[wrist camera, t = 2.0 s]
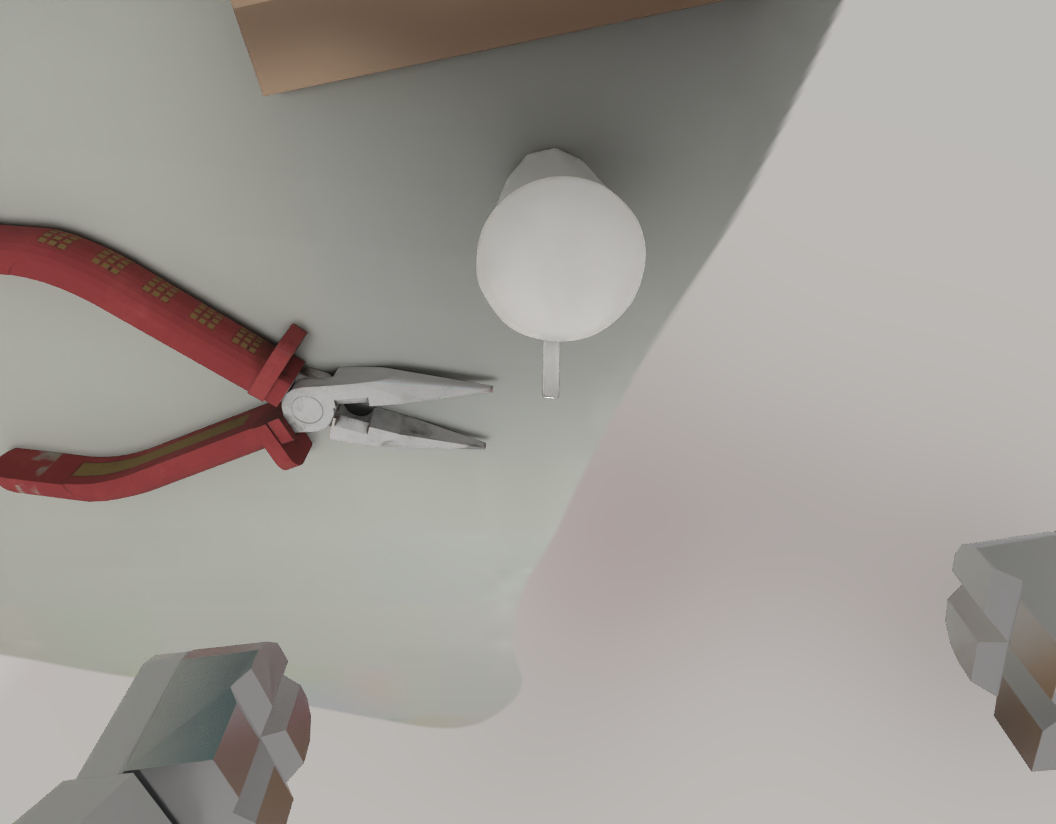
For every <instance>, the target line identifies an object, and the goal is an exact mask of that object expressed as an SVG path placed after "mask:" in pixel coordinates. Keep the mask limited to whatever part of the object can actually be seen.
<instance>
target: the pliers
mask: <svg viewBox="0 0 1056 824" xmlns="http://www.w3.org/2000/svg"><path fill="white" fill-rule="evenodd" d="M0 274H5V275H15V276H21V277H26V278H30V279H34V280H38V281H42V282H45V283H48V284H51V285H53V286H56V287H59V288H61V289H64V290H66V291H68V292H71V293H73V294H75V295H77V296H79V297H81V298H83V299H85V300H87V301H90V302H92V303H93V304H95V305H97V306H99V307H100V308H102V309H104V310H106V311H107V312H109V313H111V314H113V315H114V316H116V317H118V318H120V319H122V320H123V321H125V322H127V323H129V324H130V325H132V326H134V327H136V328H137V329H139V330H141V331H143V332H145V333H146V334H148V335H150V336H152V337H153V338H155V339H157V340H159V341H160V342H162V343H164V344H166V345H167V346H169V347H171V348H173V349H175V350H176V351H178V352H180V353H182V354H183V355H185V356H187V357H189V358H190V359H192V360H194V361H196V362H197V363H199V364H201V365H203V366H205V367H206V368H208V369H210V370H212V371H213V372H215V373H217V374H219V375H220V376H222V377H224V378H226V379H228V380H229V381H231V382H233V383H235V384H236V385H238V386H240V387H242V388H243V389H245V390H247V391H248V394H250V395H252V396H254V397H255V398H257V399H259V400H261V401H264V400H265V401H266V402H268V403H267V404H264V405H262V406H259V407H257V408H254V409H251V410H249V411H246V412H244V413H241V414H238V415H236V416H233V417H231V418H228V419H226V420H223V421H220V422H218V423H215V424H213V425H210V426H207V427H205V428H202V429H200V430H197V431H194V432H192V433H189V434H187V435H184V436H182V437H179V438H176V439H174V440H171V441H169V442H166V443H163V444H161V445H158V446H156V447H153V448H150V449H148V450H144V451H141V452H137V453H133V454H128V455H122V456H115V457H89V456H80V455H72V454H64V453H56V452H47V451H39V450H30V449H21V448H15V449H13V450H10V451H8V452H6V453H5V454H3V455H2V456H1V457H0V486H1V487H3V488H5V489H7V490H9V491H13V492H17V493H25V494H33V495H41V496H49V497H56V498H64V499H72V500H80V501H87V502H92V501H108V500H114V499H120V498H125V497H129V496H134V495H138V494H141V493H145V492H148V491H152V490H154V489H157V488H160V487H162V486H165V485H168V484H170V483H173V482H176V481H178V480H181V479H184V478H186V477H189V476H192V475H194V474H197V473H200V472H202V471H205V470H208V469H210V468H213V467H216V466H218V465H221V464H224V463H226V462H229V461H232V460H234V459H237V458H240V457H242V456H245V455H248V454H250V453H253V452H256V451H258V450H261V449H264V448H265V449H266V450H267V452H268V453H269V454H270V456H271V457H272V459H273V460H274V461H275V463H276V464H277V465H278V466H279V467H280V468H281V469H283V470H288V469H291V468H293V467H296V466H299V465H301V464H303V463H304V461H305V459H306V456H307V454H308V452H309V450H310V448H311V446H312V442H311V441H310V439H309V438H308V436H307V435H306V433H305V432H315V431H320V430H323V429H324V428H326V427H327V426H331V430H330V435H329V438H330V439H334V440H339V441H343V442H349V443H354V444H360V445H367V446H377V447H413V448H453V449H485V448H486V443H484V442H482V441H479V440H476V439H473V438H470V437H467V436H464V435H461V434H459V433H456V432H453V431H450V430H447V429H444V428H441V427H438V426H435V425H433V424H430V423H427V422H424V421H421V420H418V419H415V418H412V417H409V416H407V415H403V414H400V413H396V412H392V411H389V410H385V409H381V408H378V407H375V408H374V410H373V411H372V412H371V413H370V414H368V415H365V416H357V415H354V414H352V413H350V412H349V411H348V410H347V409H346V407H345V405H344V404H347V403H367V402H369V406H381V405H396V404H406V403H414V402H422V401H429V400H437V399H444V398H452V397H460V396H467V395H475V394H483V393H490V392H493V386H490V385H484V384H478V383H473V382H467V381H461V380H455V379H449V378H443V377H437V376H432V375H426V374H420V373H414V372H408V371H402V370H396V369H391V368H383V367H340V368H338V369H337V371H336V372H335V374H334V376H331V375H330V374H328V373H326V372H323V371H320V370H316V369H312V368H309V367H305V366H303V365H304V363H305V361H303V360H301V359H300V358H298V357H296V356H295V355H293V354H294V352H295V351H296V349H297V348H298V346H299V344H300V343H301V341H302V340H303V338H304V337H305V335H306V334H307V332H305V331H304V330H302V329H301V328H299V327H297V326H296V325H294V324H292V325H291V326H290V328H289V329H288V330H287V332H286V333H285V334H284V336H283V337H282V339H281V340H280V341H279V343H278V344H277V346H274V345H273V344H271V343H269V342H268V341H266V340H264V339H263V338H261V337H259V336H258V335H256V334H254V333H253V332H251V331H249V330H247V329H246V328H244V327H242V326H241V325H239V324H237V323H236V322H234V321H232V320H231V319H229V318H227V317H226V316H224V315H222V314H221V313H219V312H217V311H216V310H214V309H212V308H210V307H209V306H207V305H205V304H204V303H202V302H200V301H199V300H197V299H195V298H194V297H192V296H190V295H189V294H187V293H185V292H184V291H182V290H180V289H179V288H177V287H175V286H173V285H172V284H170V283H168V282H167V281H165V280H163V279H162V278H160V277H158V276H157V275H155V274H153V273H152V272H150V271H148V270H147V269H145V268H143V267H141V266H140V265H138V264H136V263H135V262H133V261H131V260H130V259H128V258H126V257H124V256H122V255H120V254H118V253H116V252H114V251H112V250H110V249H108V248H106V247H103V246H101V245H99V244H97V243H95V242H92V241H90V240H87V239H85V238H82V237H80V236H77V235H74V234H71V233H67V232H64V231H60V230H56V229H52V228H39V227H26V226H12V225H0Z"/></svg>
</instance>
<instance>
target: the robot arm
mask: <svg viewBox="0 0 1056 824" xmlns="http://www.w3.org/2000/svg"><path fill="white" fill-rule="evenodd" d="M952 571H953V573H954V574H955V575H956V576H957V578H958V579H959V580H960V582H961V583H962V585H961V586H960V587H959V588H958V589H957V590H956V591H955V592H954V593H953V594H952V595H951V596H950V597H949V598H948V600H947V610H946V619H945V621H946V626H947V631H948V635H949V640H950V644H951V646H952V649H953V651H954V653H955V655H956V658H957V660H958V662H959V664H960V665H961V667H962V668H963V670H964V671H965V673H966V674H967V676H968V677H969V679H970V681H972V682H973V683H975V684H977V685H978V686H980V687H982V688H983V689H985V690H987V691H988V692H990V693H992V694H993V695H995V696H997V698H996V705H995V711H994V716H995V718H996V720H997V721H998V722H999V724H1000V725H1001V727H1002V729H1003V730H1004V731H1005V733H1006V734H1007V736H1008V737H1009V739H1010V740H1011V742H1012V743H1013V745H1014V746H1015V748H1016V749H1017V751H1018V752H1019V754H1020V755H1021V757H1022V758H1023V760H1024V761H1025V762H1026V764H1027V766H1028V767H1029V768H1030V770H1031V771H1043V770H1056V531H1055V532H1043V533H1037V534H1030V535H1023V536H1016V537H1009V538H1003V539H996V540H990V541H983V542H976V543H969V544H962V545H961V547H960V548H959V549H958V551H957V552H956V553H955V557H954V562H953V568H952ZM287 663H288V660H287V658H286V657H285V655H284V653H283V651H282V650H281V648H280V646H279V645H278V643H274V642H260V643H251V644H243V645H234V646H225V647H216V648H207V649H198V650H193V651H188V652H179V653H169V654H160V655H155V656H154V657H152V658H151V659H150V660H148V661H147V662H145V663H144V664H143V665H142V667H141V669H140V670H139V672H138V674H137V675H136V677H135V679H134V681H133V682H132V684H131V686H130V688H129V689H128V691H127V693H126V694H125V696H124V698H123V699H122V701H121V703H120V705H119V706H118V708H117V710H116V712H115V713H114V715H113V717H112V718H111V720H110V722H109V723H108V725H107V727H106V729H105V730H104V732H103V734H102V735H101V737H100V739H99V740H98V742H97V744H96V746H95V747H94V749H93V751H92V753H91V754H90V756H89V758H88V759H87V761H86V763H85V765H84V766H83V768H82V770H81V771H80V773H79V775H78V776H77V778H76V779H74V780H68V781H63V782H62V783H60V784H59V785H58V786H57V787H56V788H54V789H53V790H52V791H51V792H50V793H49V794H47V795H46V796H45V797H44V798H43V799H41V800H40V801H39V802H38V803H37V804H36V805H34V806H33V807H32V808H31V809H30V810H28V811H27V812H26V813H25V814H24V815H22V816H21V817H20V818H19V819H18V820H17V821H15V822H14V823H13V824H286V823H287V819H288V816H289V813H290V809H291V805H292V802H293V797H292V794H291V792H290V789H289V787H288V785H287V781H288V780H289V779H290V778H291V777H292V776H293V775H294V773H295V772H296V771H297V770H298V769H299V768H300V767H301V765H303V764H304V761H305V757H306V753H307V749H308V746H309V742H310V725H311V714H310V710H309V705H308V701H307V697H306V695H305V693H304V691H303V689H302V687H301V685H300V684H298V683H296V682H294V681H293V680H291V679H289V678H288V677H286V676H284V675H283V674H284V671H285V668H286V666H287Z"/></svg>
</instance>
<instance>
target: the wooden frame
mask: <svg viewBox="0 0 1056 824" xmlns="http://www.w3.org/2000/svg"><path fill="white" fill-rule="evenodd" d="M230 1H231V4H232V6H233V9H234V12H235V15H236V18H237V21H238V24H239V27H240V30H241V33H242V36H243V39H244V41H245V44H246V47H247V50H248V53H249V56H250V59H251V62H252V65H253V68H254V71H255V74H256V76H257V79H258V82H259V85H260V88H261V91H262V94H263V96H267V95H271V94H276V93H281V92H286V91H291V90H296V89H300V88H305V87H310V86H315V85H320V84H324V83H329V82H334V81H339V80H344V79H349V78H353V77H358V76H363V75H368V74H373V73H377V72H382V71H387V70H392V69H397V68H401V67H406V66H411V65H416V64H421V63H426V62H430V61H435V60H440V59H445V58H450V57H454V56H459V55H464V54H469V53H474V52H479V51H483V50H488V49H493V48H498V47H503V46H507V45H512V44H517V43H522V42H527V41H531V40H536V39H541V38H546V37H551V36H556V35H560V34H565V33H570V32H575V31H580V30H584V29H589V28H594V27H599V26H604V25H608V24H613V23H618V22H623V21H628V20H633V19H637V18H642V17H647V16H652V15H657V14H661V13H666V12H671V11H676V10H681V9H686V8H690V7H695V6H700V5H705V4H710V3H714V2H719V1H724V0H230Z"/></svg>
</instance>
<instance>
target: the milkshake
mask: <svg viewBox="0 0 1056 824" xmlns="http://www.w3.org/2000/svg"><path fill="white" fill-rule="evenodd" d="M645 263H646V246H645V240H644V236H643V232H642V229H641V226H640V224H639V222H638V220H637V218H636V217H635V215H634V214H633V212H632V211H631V210H630V209H629V207H628V206H627V205H626V204H625V203H624V202H623V201H622V200H621V199H620V198H619V197H618V196H617V195H616V194H615V193H613V192H612V191H611V190H610V189H609V188H608V187H606V186H605V185H604V184H603V183H602V182H601V181H600V180H599V178H598V177H597V176H596V175H595V174H594V173H593V172H592V171H591V170H590V168H589V167H588V166H587V165H586V164H585V163H584V162H583V161H582V160H581V159H579V158H577V157H574V156H572V155H570V154H568V153H566V152H564V151H562V150H560V149H557V148H552V149H547V150H543V151H538V152H534V153H529V154H527V155H526V156H525V157H524V159H523V160H522V161H521V162H520V163H519V165H518V166H517V167H516V168H515V169H514V170H513V171H512V173H511V174H510V175H509V176H508V178H507V181H506V183H505V185H504V188H503V190H502V192H501V195H500V197H499V199H498V202H497V204H496V206H495V208H494V210H493V211H492V212H491V214H490V215H489V217H488V219H487V220H486V222H485V224H484V226H483V229H482V231H481V234H480V238H479V242H478V248H477V260H476V270H477V279H478V283H479V286H480V289H481V291H482V293H483V295H484V296H485V298H486V300H487V301H488V303H489V304H490V306H491V307H492V309H493V310H494V312H495V313H496V314H497V316H498V317H499V318H500V319H501V320H502V321H503V322H504V323H505V324H506V325H507V326H509V327H510V328H511V329H513V330H515V331H517V332H518V333H521V334H523V335H526V336H528V337H532V338H535V339H540V340H543V378H542V396H543V398H549V399H559V395H560V342H562V341H574V340H580V339H584V338H587V337H590V336H593V335H595V334H597V333H599V332H601V331H602V330H604V329H605V328H607V327H608V326H610V325H611V324H612V323H613V322H615V321H616V320H617V319H618V318H619V317H620V316H621V315H622V314H623V313H624V312H625V311H626V310H627V308H628V307H629V306H630V305H631V303H632V302H633V300H634V298H635V296H636V294H637V292H638V290H639V287H640V284H641V281H642V277H643V273H644V269H645Z"/></svg>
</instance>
